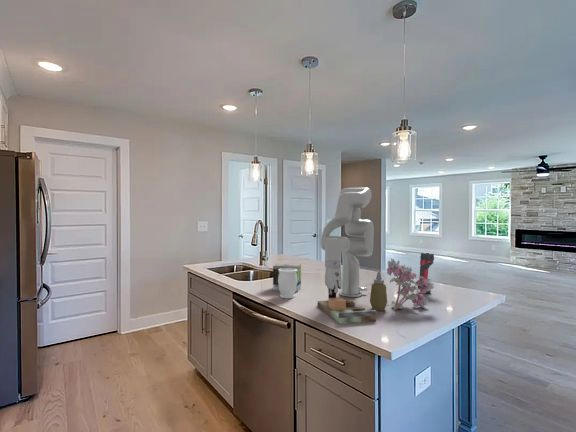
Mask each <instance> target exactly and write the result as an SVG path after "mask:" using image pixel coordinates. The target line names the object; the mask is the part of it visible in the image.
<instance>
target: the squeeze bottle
mask: <svg viewBox="0 0 576 432" xmlns="http://www.w3.org/2000/svg"><path fill="white" fill-rule="evenodd" d="M370 289H371V290H370V295H369V296H370V297H369V303H370V306H371V310H376V311H377V312H378V311H385V309H386V307H387V304H388V298H387V297H388V295H387V286H386V284H385V279H383V278H382V274H381V272H380V271H377V273H376V277H375V278H373V283H372V284H371V288H370Z"/></svg>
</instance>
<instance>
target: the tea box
mask: <svg viewBox="0 0 576 432" xmlns="http://www.w3.org/2000/svg"><path fill="white" fill-rule="evenodd" d="M280 268H295V269H297V272H296V274H297V286H296V291H295V293H297V292H299V291H300V290H301V289H302V288H301V287H302V264H300V263H299V264H298V263H295V264H294V263H276V264H275V265H273V266H272V273H273V274H272V290H273V291H279V292H280V290H279V284H278V276H279V271H278V269H280Z"/></svg>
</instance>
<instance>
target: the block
mask: <svg viewBox="0 0 576 432" xmlns="http://www.w3.org/2000/svg"><path fill="white" fill-rule="evenodd" d="M327 300H328V307H329V308H331V309H332V310H346V300H344V298H342V297H341V296H339V297H336V298H328V299H327Z"/></svg>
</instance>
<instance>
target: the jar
mask: <svg viewBox="0 0 576 432" xmlns="http://www.w3.org/2000/svg"><path fill="white" fill-rule="evenodd" d="M278 271H279V276H278V284H279V290H280V291H279V290H278V291H279V293H280V294H279V297H280V298H282V299H294V298H295V297H296V294H295V293H296V292H295V291H296V286H297V274H296V272H297V269H295V268H280V269H278Z"/></svg>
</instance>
